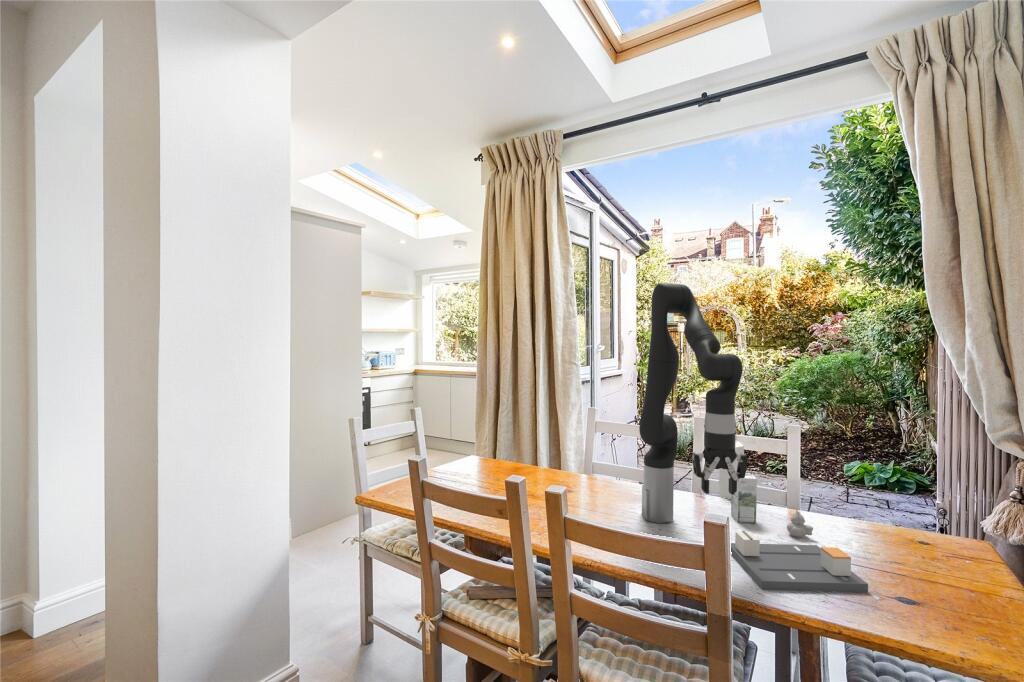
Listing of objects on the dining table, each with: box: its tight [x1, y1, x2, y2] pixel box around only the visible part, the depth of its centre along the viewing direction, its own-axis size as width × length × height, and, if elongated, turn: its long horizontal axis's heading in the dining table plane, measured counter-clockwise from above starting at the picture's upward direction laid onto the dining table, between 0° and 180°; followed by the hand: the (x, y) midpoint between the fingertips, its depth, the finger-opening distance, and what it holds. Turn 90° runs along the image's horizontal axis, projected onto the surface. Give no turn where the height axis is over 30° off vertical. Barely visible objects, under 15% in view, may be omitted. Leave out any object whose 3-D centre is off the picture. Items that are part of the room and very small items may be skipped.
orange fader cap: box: [820, 546, 852, 576], centre depth 115 cm, size 4×5×4 cm
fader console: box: [730, 542, 869, 593], centre depth 120 cm, size 24×20×2 cm
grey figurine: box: [786, 509, 814, 538], centre depth 139 cm, size 5×7×8 cm
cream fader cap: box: [734, 530, 761, 556], centre depth 125 cm, size 4×5×4 cm
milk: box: [718, 435, 745, 501], centre depth 173 cm, size 6×6×22 cm
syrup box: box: [730, 472, 758, 524], centre depth 152 cm, size 6×6×14 cm
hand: (719, 493), depth 125 cm, fingers open, 6 cm apart
